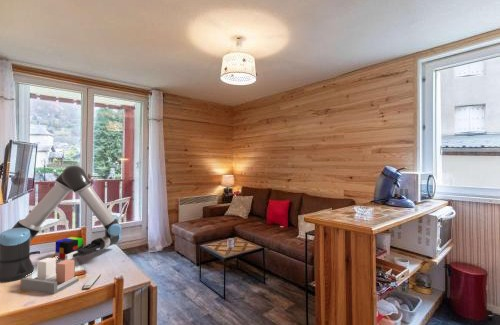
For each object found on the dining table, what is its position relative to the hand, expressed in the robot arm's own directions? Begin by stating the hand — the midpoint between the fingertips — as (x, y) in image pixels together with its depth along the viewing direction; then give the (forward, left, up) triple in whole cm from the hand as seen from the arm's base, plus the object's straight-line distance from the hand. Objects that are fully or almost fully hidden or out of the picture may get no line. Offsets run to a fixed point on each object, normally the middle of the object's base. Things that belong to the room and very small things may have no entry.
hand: (66, 257), depth 135 cm
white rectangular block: (+9, -5, -6) cm, 12 cm away
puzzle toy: (-27, -7, -8) cm, 29 cm away
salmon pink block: (+14, +4, -6) cm, 16 cm away
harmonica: (+16, +16, -9) cm, 24 cm away
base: (+14, -2, -8) cm, 16 cm away
